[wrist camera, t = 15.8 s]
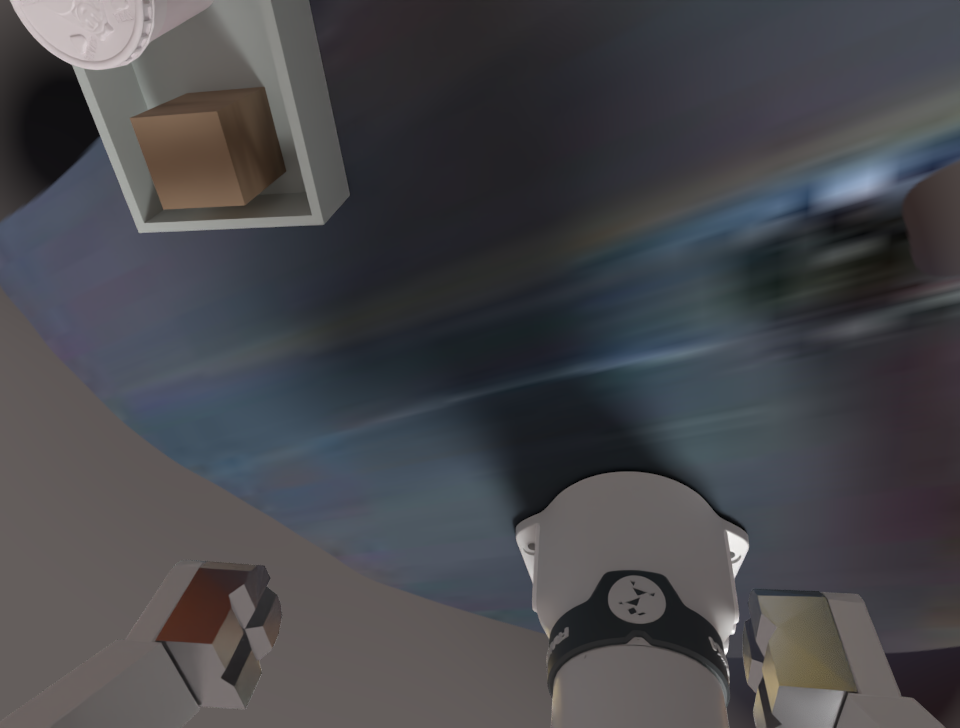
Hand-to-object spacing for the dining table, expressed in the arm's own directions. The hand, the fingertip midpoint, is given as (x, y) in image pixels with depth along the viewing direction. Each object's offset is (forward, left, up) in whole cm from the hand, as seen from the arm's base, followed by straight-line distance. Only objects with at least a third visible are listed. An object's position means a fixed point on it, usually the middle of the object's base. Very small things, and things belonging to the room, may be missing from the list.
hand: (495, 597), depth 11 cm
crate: (+5, +20, -33) cm, 39 cm away
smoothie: (+9, +20, -32) cm, 39 cm away
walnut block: (0, +20, -32) cm, 38 cm away
